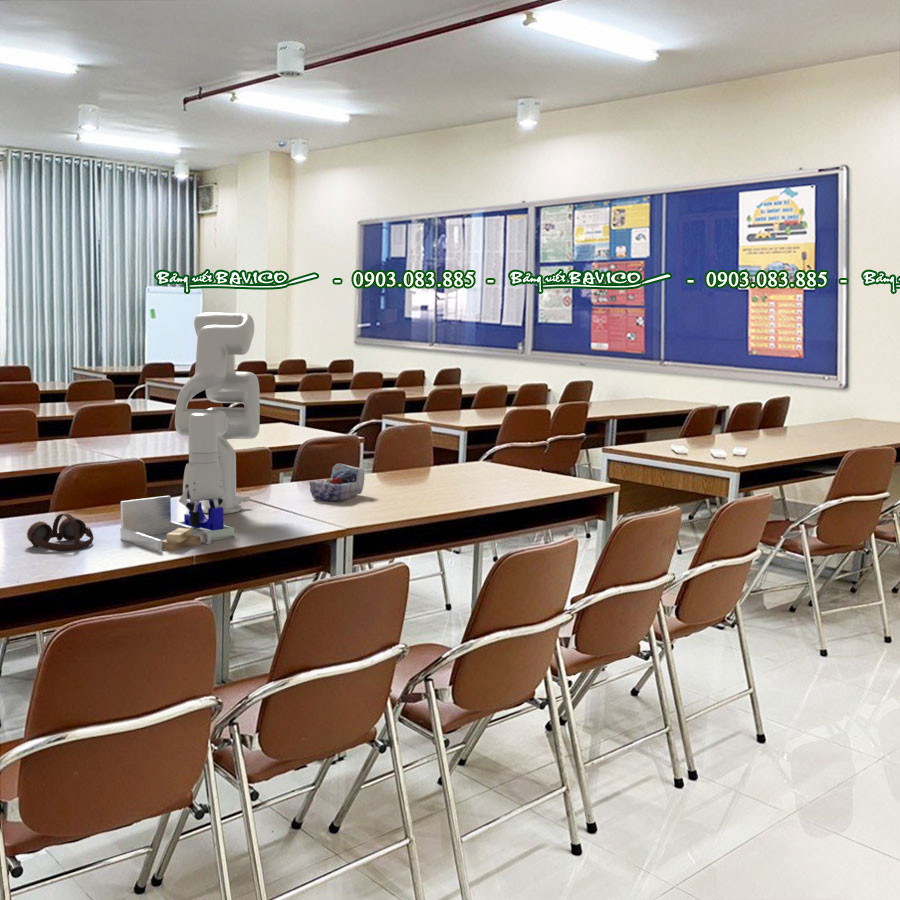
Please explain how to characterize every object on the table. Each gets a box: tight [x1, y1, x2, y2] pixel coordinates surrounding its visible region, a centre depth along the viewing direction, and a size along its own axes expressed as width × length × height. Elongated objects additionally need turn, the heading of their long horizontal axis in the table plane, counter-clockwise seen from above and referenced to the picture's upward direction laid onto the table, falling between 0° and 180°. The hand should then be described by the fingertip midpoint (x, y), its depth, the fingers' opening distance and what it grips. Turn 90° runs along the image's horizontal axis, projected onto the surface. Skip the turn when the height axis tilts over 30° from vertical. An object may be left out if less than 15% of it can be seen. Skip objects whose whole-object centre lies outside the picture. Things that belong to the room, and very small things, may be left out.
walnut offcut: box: [161, 535, 202, 552], centre depth 263 cm, size 10×4×2 cm, turn 147°
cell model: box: [308, 463, 366, 503], centre depth 337 cm, size 13×11×20 cm
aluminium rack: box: [120, 495, 212, 553], centre depth 268 cm, size 15×21×10 cm
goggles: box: [26, 513, 95, 552], centre depth 261 cm, size 15×13×10 cm
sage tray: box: [176, 520, 235, 542], centre depth 278 cm, size 9×17×2 cm, turn 45°
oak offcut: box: [166, 528, 192, 543], centre depth 263 cm, size 8×4×2 cm, turn 172°
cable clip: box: [183, 501, 225, 531], centre depth 278 cm, size 12×4×6 cm, turn 47°
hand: (204, 523), depth 278 cm, fingers closed on cable clip, 4 cm apart
